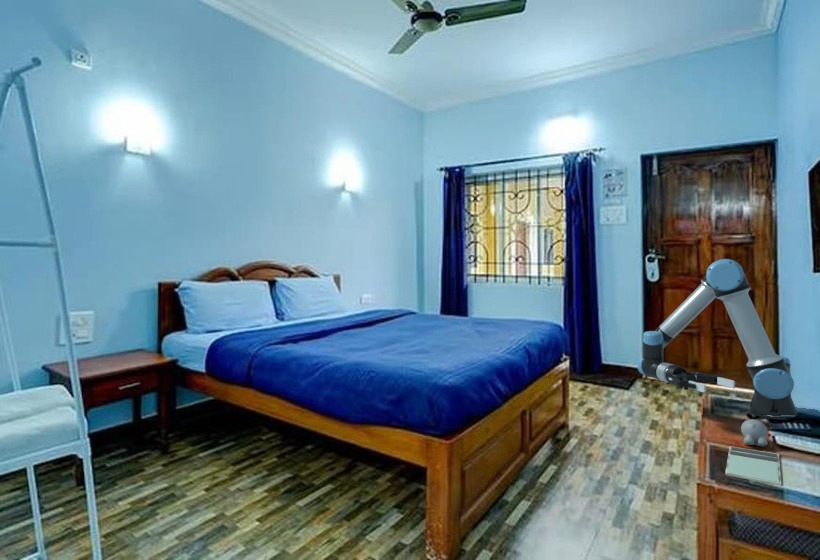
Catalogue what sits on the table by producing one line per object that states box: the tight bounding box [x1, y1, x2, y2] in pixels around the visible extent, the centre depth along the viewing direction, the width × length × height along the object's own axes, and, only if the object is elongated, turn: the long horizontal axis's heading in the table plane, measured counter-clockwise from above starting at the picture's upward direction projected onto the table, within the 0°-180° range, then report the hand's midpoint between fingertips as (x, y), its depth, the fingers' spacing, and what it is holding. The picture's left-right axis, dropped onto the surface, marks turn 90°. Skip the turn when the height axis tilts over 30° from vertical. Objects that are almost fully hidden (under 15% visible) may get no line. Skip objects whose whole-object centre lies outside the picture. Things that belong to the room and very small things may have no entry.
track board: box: [724, 445, 782, 487], centre depth 145 cm, size 24×13×1 cm, turn 143°
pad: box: [727, 455, 779, 483], centre depth 142 cm, size 15×12×1 cm
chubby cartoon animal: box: [740, 418, 769, 447], centre depth 161 cm, size 7×12×8 cm, turn 150°
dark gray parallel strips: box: [730, 446, 778, 462], centre depth 152 cm, size 6×12×1 cm, turn 53°
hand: (719, 386), depth 171 cm, fingers open, 13 cm apart
